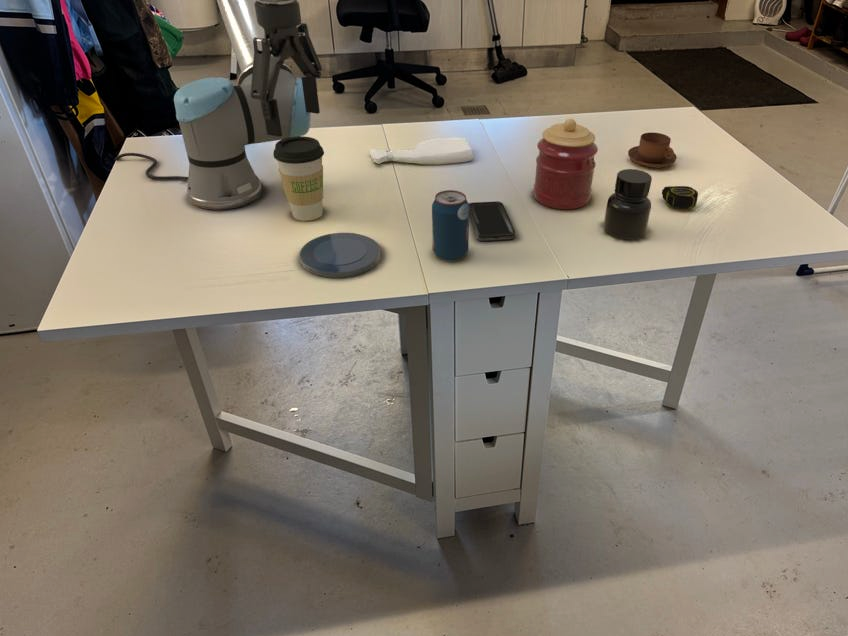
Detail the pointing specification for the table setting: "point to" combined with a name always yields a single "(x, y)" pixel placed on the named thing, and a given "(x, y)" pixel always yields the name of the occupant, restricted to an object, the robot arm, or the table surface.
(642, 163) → the cup and saucer
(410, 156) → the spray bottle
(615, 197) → the ink bottle
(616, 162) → the table surface
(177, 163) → the table surface
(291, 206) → the coffee cup
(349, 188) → the table surface
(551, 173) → the kitchen canister
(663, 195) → the tape measure
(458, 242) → the soda can
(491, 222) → the phone
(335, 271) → the plate
